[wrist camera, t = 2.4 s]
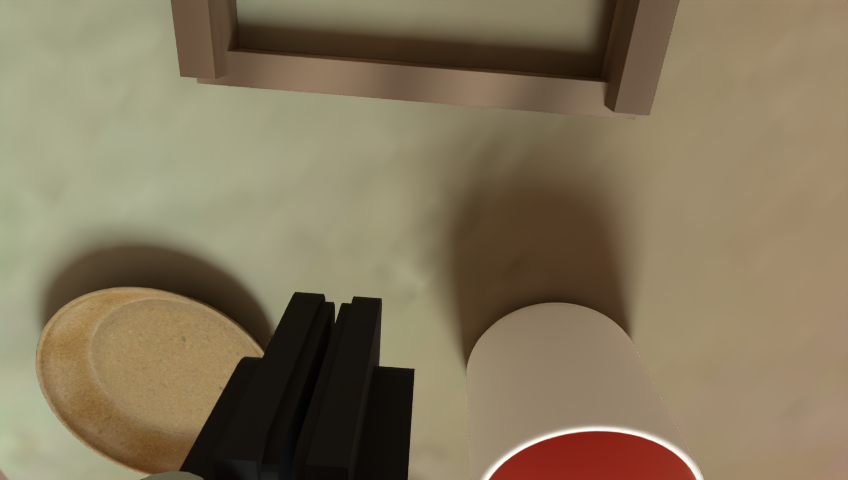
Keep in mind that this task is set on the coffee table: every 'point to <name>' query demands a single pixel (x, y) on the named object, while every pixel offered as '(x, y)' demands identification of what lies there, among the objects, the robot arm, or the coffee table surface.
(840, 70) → the coffee table surface
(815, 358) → the coffee table surface
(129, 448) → the plant saucer
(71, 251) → the coffee table surface
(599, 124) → the coffee table surface
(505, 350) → the cup
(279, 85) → the frame
